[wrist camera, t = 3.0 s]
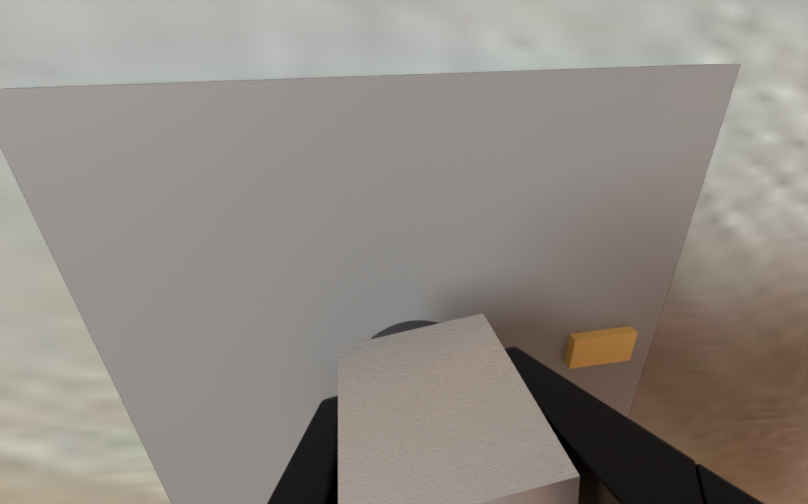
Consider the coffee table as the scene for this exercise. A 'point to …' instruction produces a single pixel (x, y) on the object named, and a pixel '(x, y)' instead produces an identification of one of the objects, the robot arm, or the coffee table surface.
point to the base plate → (355, 234)
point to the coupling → (444, 423)
